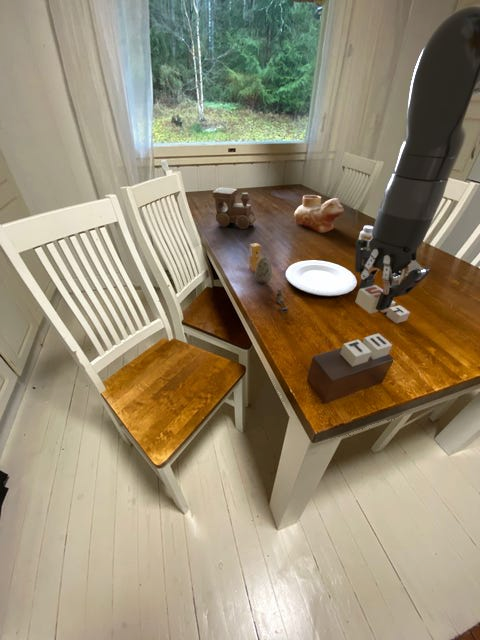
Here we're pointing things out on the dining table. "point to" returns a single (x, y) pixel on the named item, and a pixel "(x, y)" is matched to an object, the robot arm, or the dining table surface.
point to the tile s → (369, 298)
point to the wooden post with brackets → (281, 300)
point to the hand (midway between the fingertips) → (371, 302)
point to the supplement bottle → (366, 232)
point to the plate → (321, 278)
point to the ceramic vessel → (318, 213)
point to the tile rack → (344, 374)
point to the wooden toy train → (232, 208)
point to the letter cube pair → (396, 313)
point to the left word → (365, 349)
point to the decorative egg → (263, 270)
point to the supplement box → (254, 255)
